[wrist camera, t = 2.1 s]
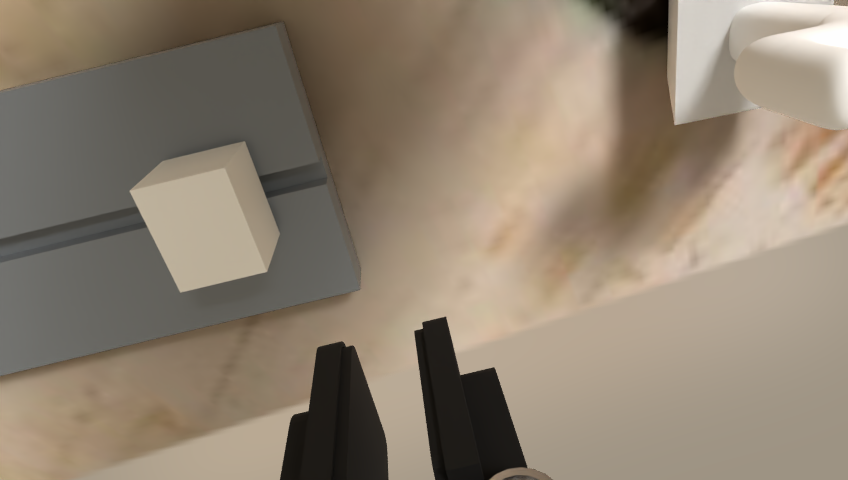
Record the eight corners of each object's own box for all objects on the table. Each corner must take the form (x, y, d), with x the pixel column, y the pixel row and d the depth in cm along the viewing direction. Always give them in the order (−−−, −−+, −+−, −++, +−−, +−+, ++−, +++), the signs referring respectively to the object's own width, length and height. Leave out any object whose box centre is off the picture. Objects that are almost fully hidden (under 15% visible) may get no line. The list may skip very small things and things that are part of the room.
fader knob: (248, 135, 26) (224, 167, 22) (282, 225, 29) (266, 272, 24) (169, 154, 26) (129, 190, 22) (209, 243, 29) (180, 292, 24)
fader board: (283, 21, 26) (274, 25, 24) (360, 268, 32) (360, 291, 30) (-237, 148, 26) (-298, 166, 24) (-60, 368, 32) (-94, 400, 30)
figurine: (789, 78, 30) (1139, 163, 16) (620, 112, 30) (832, 226, 16) (807, -71, 26) (1263, -121, 13) (618, -33, 26) (880, -44, 13)
